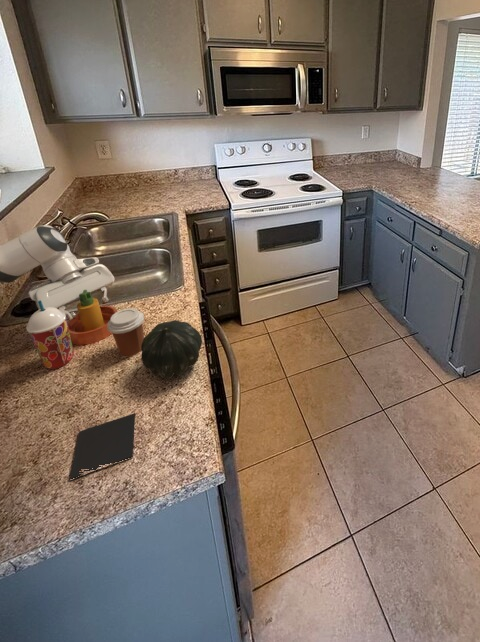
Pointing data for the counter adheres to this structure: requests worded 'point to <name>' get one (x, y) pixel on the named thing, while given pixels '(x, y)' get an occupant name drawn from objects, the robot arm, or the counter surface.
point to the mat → (104, 444)
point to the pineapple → (89, 312)
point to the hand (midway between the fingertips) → (90, 310)
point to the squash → (171, 348)
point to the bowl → (94, 335)
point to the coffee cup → (127, 331)
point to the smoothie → (51, 336)
